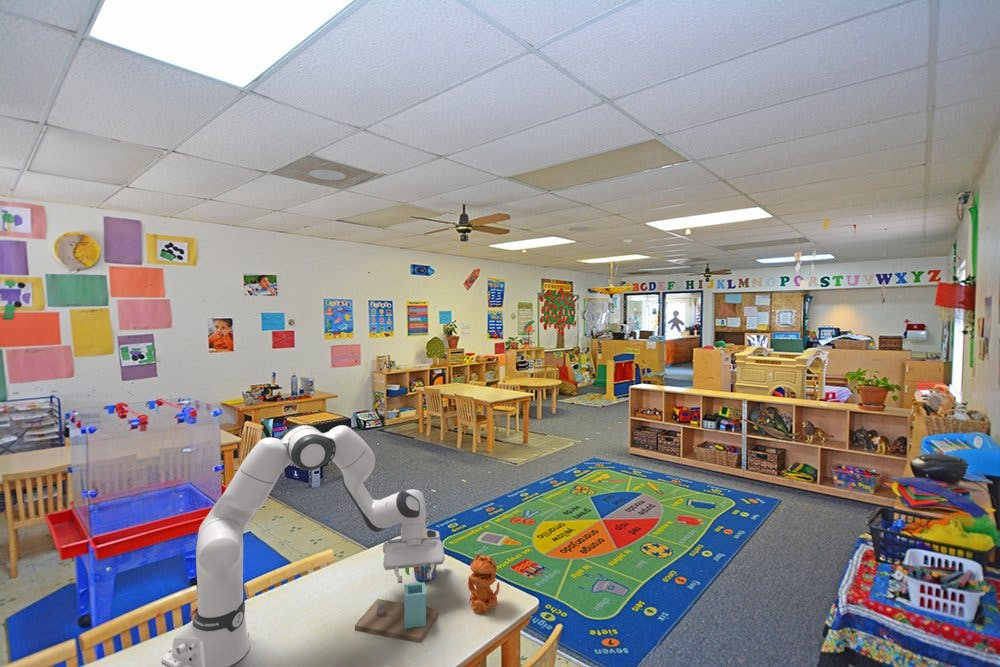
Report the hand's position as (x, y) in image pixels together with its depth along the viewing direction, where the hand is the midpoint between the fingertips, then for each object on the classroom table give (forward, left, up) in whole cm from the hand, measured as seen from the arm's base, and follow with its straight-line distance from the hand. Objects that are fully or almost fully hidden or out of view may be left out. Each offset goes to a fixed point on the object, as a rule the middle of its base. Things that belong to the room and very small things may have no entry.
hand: (414, 581), depth 151 cm
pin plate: (-3, -5, -11) cm, 12 cm away
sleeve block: (+3, -6, -9) cm, 11 cm away
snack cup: (-5, +21, -11) cm, 24 cm away
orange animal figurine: (+21, +9, -11) cm, 25 cm away
